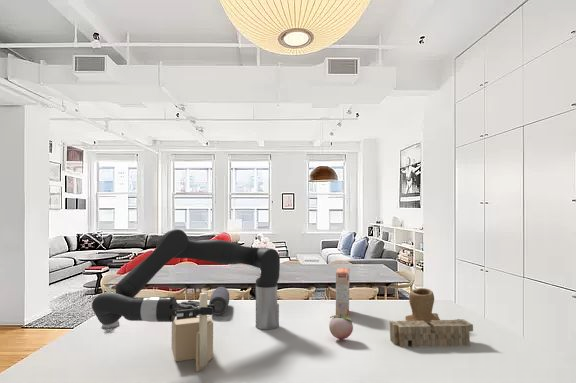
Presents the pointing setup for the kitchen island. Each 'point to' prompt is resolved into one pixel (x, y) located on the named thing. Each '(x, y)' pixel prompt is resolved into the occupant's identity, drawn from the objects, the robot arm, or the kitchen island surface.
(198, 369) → the beige l-shaped piece
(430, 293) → the stone cup
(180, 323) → the brown carton
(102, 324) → the flask
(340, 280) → the cracker box
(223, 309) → the bluetooth speaker
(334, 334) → the decorative fruit
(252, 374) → the kitchen island surface
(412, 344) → the block tower
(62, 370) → the kitchen island surface
